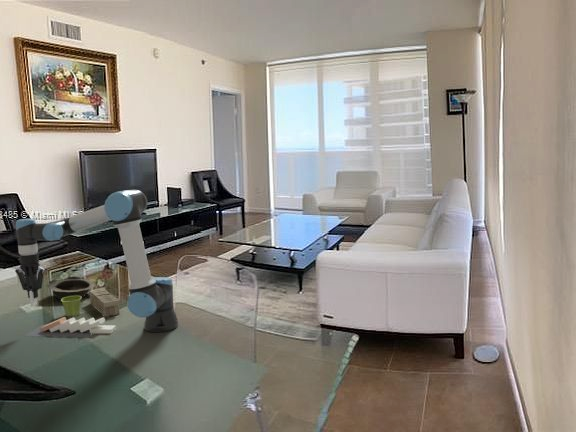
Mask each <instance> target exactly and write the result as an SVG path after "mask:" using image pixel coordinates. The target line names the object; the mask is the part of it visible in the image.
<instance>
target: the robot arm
mask: <svg viewBox="0 0 576 432" xmlns="http://www.w3.org/2000/svg"><path fill="white" fill-rule="evenodd" d="M147 207H148V199H147V196H146V195H145V193H143V192H142V191H141V190H140V189H127V190H120V191H119V190H118V191H115V192H113V193H111V194H109V196H108V197H107V198H106V199H105V202H104V204H103V205H100V206H98V207H94V208H91V209H88V210H86V211H84V212H81V213H78V214H75V215H72V216H68V217H67V218H63V219H59V220H55V221H50V222H45V223H37V222H36V220H35V219H34V218H22V219H21V218H20V219H18V220H16V221H15V231H16V237H17V248H18V254H19V256H18V257H19V263H20V265H19V267H18V268H17V269H15V270H14V272H15V274H16V275H17V277H18V279H19V282H20V286H21V287H22V290H23V291H27V297H28V299H29V304H30V307H34V306H36V305H38V298H39V290H40V289H42V288H43V282H44V281H43V279H44V274H45V272H46V270H47V269H46V268H45V267H42V266H41V264H40V263H39V262H40V259H39V258H40V256H39V255H40V254H39V253H38V252H39V248H38V247H39V246H38V241H50V242H52V241H59V240H60V239H61V238H62V237H65V236H71V235H73V234H75V233H77V232H81V231H83V230H86V229H90V228H92V227H94V226H98V225H101V224H103V223H107V222H109V221H112V223H113V226H114V227H115V228H117V229H118V234H119V237H120V241H121V245H122V249H123V254H124V258H125V262H126V267H127V271H128V275H129V279H130V285H129V286H128V292H129V296H128V298H127V301H126V306H127V309H128V311H129V312H130V313H131V314H132V315H134V316H135V317H137V318H140V319H141V318H145V320H144V323H143V325H144V326H143V328H144V330H145V331H147V332H150V333H164V332H169V331H172V330H174V329H176V328H178V326H179V320H178V316H177V314H176V312H175V310H174V285H173V278H172V279H171V278H170V277H165V276H164V277H163V276H157V277H152V274H151V271H150V267H149V266H150V265H149V261H148V257H147V253H146V247H145V243H144V240H143V235H142V231H141V230H142V229H141V227H140V223H141V222H142V221H143V217H142V214H143V213H144V212H145V211H146V210H147Z"/></svg>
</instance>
